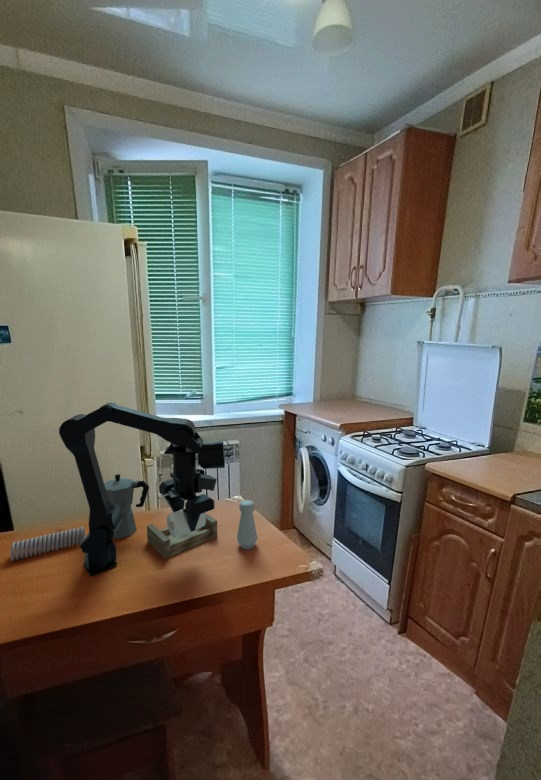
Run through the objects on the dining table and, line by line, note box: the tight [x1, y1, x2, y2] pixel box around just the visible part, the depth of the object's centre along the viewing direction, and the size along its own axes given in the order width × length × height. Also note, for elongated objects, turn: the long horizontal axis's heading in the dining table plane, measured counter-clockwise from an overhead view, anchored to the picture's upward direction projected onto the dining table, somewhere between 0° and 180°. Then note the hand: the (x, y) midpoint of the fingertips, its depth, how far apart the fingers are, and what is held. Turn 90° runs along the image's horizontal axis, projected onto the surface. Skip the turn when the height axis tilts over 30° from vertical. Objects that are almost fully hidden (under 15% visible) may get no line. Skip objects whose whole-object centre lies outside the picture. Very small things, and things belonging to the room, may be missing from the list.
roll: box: [166, 507, 206, 538], centre depth 95 cm, size 8×6×6 cm
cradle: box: [146, 512, 218, 560], centre depth 106 cm, size 17×11×5 cm, turn 132°
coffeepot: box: [104, 473, 150, 540], centre depth 110 cm, size 15×9×18 cm, turn 98°
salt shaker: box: [236, 499, 258, 550], centre depth 102 cm, size 6×6×13 cm
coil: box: [10, 525, 86, 562], centre depth 101 cm, size 5×5×18 cm
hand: (186, 526), depth 95 cm, fingers closed on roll, 6 cm apart
